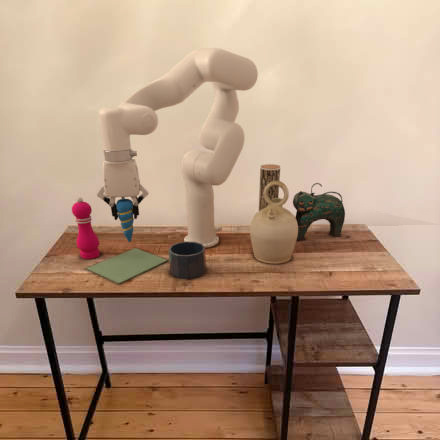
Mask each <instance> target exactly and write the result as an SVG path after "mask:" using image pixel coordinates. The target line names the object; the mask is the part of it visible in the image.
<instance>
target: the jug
mask: <svg viewBox="0 0 440 440" xmlns="http://www.w3.org/2000/svg"><path fill="white" fill-rule="evenodd" d="M273 186H279V188H280V189H281V190H282V192H283V198H281V197H278V198H273V199H272V200H271V199H270V197H269V189H270V188H271V187H273ZM289 196H290V193H289V188H288V187H287V185H286V184H285V183H284V182H283V181H280V180H279V181H278V180H276V181H272V182H270V183H269V184H267V186H266V187H265V189H264V199H265V201H266V202H267V203H268V206H267V207H266V208H263V209H262V210H260V211H259V210H258V211H257V212H256V213H255V214H254V215H253V217H252V219H251V221H250V225H249V235H250V242H251V247H252V252H253V255H254V257H255V259H256V260H258V261H259V262H261V263H264V264H268V265H270V264H271V265H279V264H280V265H281V264H284V263H287V262H289V261H290V260H291V259H292V255H293V253H294V251H295V248H296V247H295V246H296V243H297V236H298V224H297V220H296V218H295V217H296V215H294V214H293V213H292V211H290V210H288V209H287V208H285V207H283V205H285V204H286V203H287V202H288V200H289Z"/></svg>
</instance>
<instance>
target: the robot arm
mask: <svg viewBox="0 0 440 440" xmlns="http://www.w3.org/2000/svg"><path fill="white" fill-rule="evenodd" d="M258 76H259V72H258V68H257V65H256V64H255V62H254V61H253V60H252V59H250V58H248V57H245V56H242V55H239V54H237V53H234V52H231V51H228V50H225V49H222V48H217V47H209V48H208V47H206V48H196V49H194V50H192V51H191V52H189V53H188V54H186V56H185V57H183V58H182V59H181V60H180V61H179V62H178V63H176V64H175V65H174V66H173V67H172V68H170V69H169V70H168V71H167V72H165V73H164V75H162V76H160V77H158V78H156V79H154V80H153V81H151V82H149V83H148V84H146V85H144V86H142V87H140V88H139V89H137V90H136V91H134V92H133V93H132V94H130V95H129V96H128V97H127V98H126V99H124V100H123V101H122V102H121V103H120V104H119V105H118V106H107V107H102V108H100V109H99V111H98V121H99V129H100V136H101V142H102V148H103V149H102V150H103V155H104V160H102V183H103V184H102V186H101V188H100V189H99V191H98V192H97V194H96V197H98V198H99V199H101V200H102V201H103V202H104V203H106V205H108V206H109V207H110V211H111V216H112V217H113V218H114V221H117V220H119V217H118V212H117V209H116V198H121V197H125V198H131V201H132V202H133V212H134V214H133V218H134V220H137V219H138V216H140V209H139V205H140V204H141V202H142V201H144V199H145V198H146V197H148V196H149V193H150V192H149V190H148V189H146V187H145V186H144V185H143V184H142V183H141V180H140V173H139V169H138V168H139V167H138V165H137V161H136V159H134V157H138V152H137V150H133V149H132V145H131V135H133V136H134V135H135V136H146V135H150V134H152V133H154V132H155V131H156V129H157V128H158V125H159V117H158V114H157V112H156V111H158V110H161V109H165V108H168V107H173V106H177V105H180V104H181V103H184V102H185V100H186V99H188V98H189V97H190V96H191V95H192V94H193V93H194V92H196V91H197V89H198V88H200V87H201V86H202V85H203V84H205V83H211V84H212V87H213V93H214V101H213V104H212V107H211V108H210V111H209V113H208V115H207V117H206V119H205V121H204V124H203V125H202V128H201V130H200V132H199V135H198V137H199V138H198V140H199V143H200V145H201V146H202V147H203V148H205V149H206V150H209V151H205V150H203V149H202V150H201V149H191V150H189V151H188V152H186V153H185V154H184V155H183V157H182V159H181V165H180V167H181V173H182V177H183V182H184V188H185V203H186V223H187V235H186V236H185V237H184V238H183V242H186V241H188V242H197V243H200V244H203V246H204V247H205V249H207V248H211V247H215V246H216V245H218V244H219V242H220V238H219V236H218V235H217V233H218V232H221V231H222V230H223V226H222V225H220V224H218V225H217V226H215V194H214V193H215V191H214V187H213V186H220V185H223V184H224V183H225V182H226V181H227V180H228V178H229V176H230V175H231V172H232V171H233V170H234V169H233V168H234V167H235V165H236V163H237V160H238V159H239V157H240V155H241V154H242V153H241V152H242V150H243V148H244V144H245V132H244V129H243V127H242V126H241V125H240V124H239V123H237V122H236V119H237V117H238V114H239V110H240V103H239V98H238V94H237V91H249V90H251V89H252V88H253V87H255V84H256V83H257V80H258ZM210 151H212V152H210ZM140 192H141V193H140Z"/></svg>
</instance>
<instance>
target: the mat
mask: <svg viewBox="0 0 440 440" xmlns="http://www.w3.org/2000/svg"><path fill="white" fill-rule="evenodd" d="M168 261H169V259H166V258H163V257H160V256H158V255H155V254H153V253H150V252H147V251H144V250H142V249H139V248H136V247H134V248H132V249H130V250H127V251H125V252H122V253H120V254H117V255H115V256H113V257H109V258H108V259H105V260H102V261H100V262H98V263H95V264H93V265H91V266H88V267H86V270H87V271H90V272H91V273H94V274H96V275H99V276H101V277H103V278H105V279H107V280H109V281H111V282H114V283H116V284H118V285H120V284H122V283H125V282H126V281H130V280H131V279H133V278H135V277H138V276H140V275H141V274H144V273H146V272H148V271H150V270H152V269H154V268H156V267H158V266H160V265H163V264H165V263H167V262H168Z"/></svg>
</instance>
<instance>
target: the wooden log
mask: <svg viewBox="0 0 440 440" xmlns="http://www.w3.org/2000/svg"><path fill="white" fill-rule="evenodd" d="M259 170H260V171H259V190H258V191H259V194H258V212H259V211H260V210H262V209H263V208H266V207H267V206H268V203H267V202H266V201H265V199H264V189H265V187H266V186H267V184H269V183H270V182H272V181H276V180H278V181H280V180H281V179H280V177H281V166H280V164H279V165H278V164H273V163H269V164H262V165H260V169H259ZM279 192H280V187H279V186H273V187H271V188H270V189H269V197H270V199H271V200H272V199H273V198H279V195H280V194H279Z"/></svg>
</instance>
